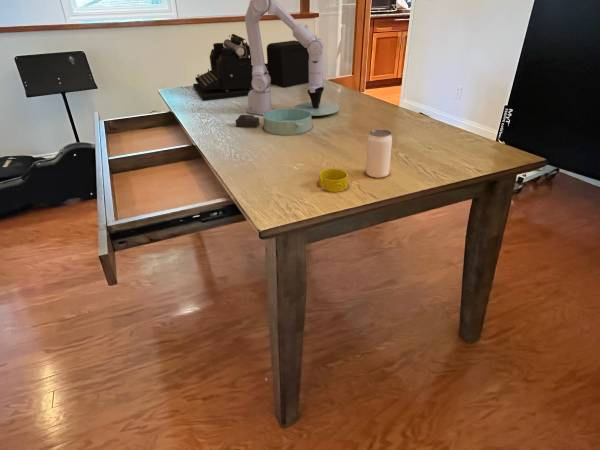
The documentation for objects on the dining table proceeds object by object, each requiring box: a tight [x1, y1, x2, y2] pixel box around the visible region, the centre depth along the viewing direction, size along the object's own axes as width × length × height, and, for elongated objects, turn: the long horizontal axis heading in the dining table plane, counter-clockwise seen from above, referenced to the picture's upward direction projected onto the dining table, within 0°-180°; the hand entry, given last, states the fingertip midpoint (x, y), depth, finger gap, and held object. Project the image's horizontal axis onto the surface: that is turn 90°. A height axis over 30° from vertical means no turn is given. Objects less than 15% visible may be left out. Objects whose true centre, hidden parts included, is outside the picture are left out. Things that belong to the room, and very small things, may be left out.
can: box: [365, 128, 393, 179], centre depth 114 cm, size 6×6×12 cm
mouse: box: [235, 114, 260, 129], centre depth 158 cm, size 8×5×4 cm, turn 77°
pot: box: [262, 107, 313, 136], centre depth 155 cm, size 18×23×5 cm
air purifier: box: [266, 39, 309, 88], centre depth 218 cm, size 20×15×20 cm
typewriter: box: [192, 33, 253, 102], centre depth 204 cm, size 31×27×25 cm
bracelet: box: [318, 168, 349, 193], centre depth 110 cm, size 7×8×3 cm
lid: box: [293, 101, 340, 117], centre depth 170 cm, size 19×19×5 cm
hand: (316, 106), depth 171 cm, fingers closed on lid, 2 cm apart
